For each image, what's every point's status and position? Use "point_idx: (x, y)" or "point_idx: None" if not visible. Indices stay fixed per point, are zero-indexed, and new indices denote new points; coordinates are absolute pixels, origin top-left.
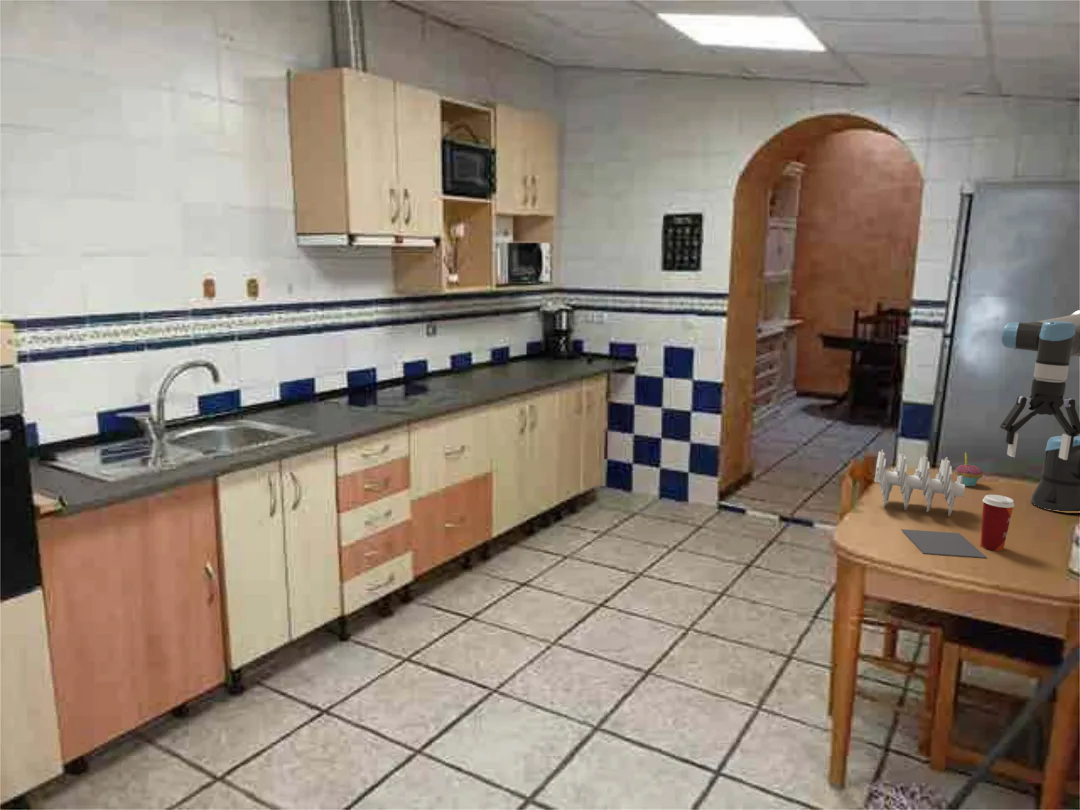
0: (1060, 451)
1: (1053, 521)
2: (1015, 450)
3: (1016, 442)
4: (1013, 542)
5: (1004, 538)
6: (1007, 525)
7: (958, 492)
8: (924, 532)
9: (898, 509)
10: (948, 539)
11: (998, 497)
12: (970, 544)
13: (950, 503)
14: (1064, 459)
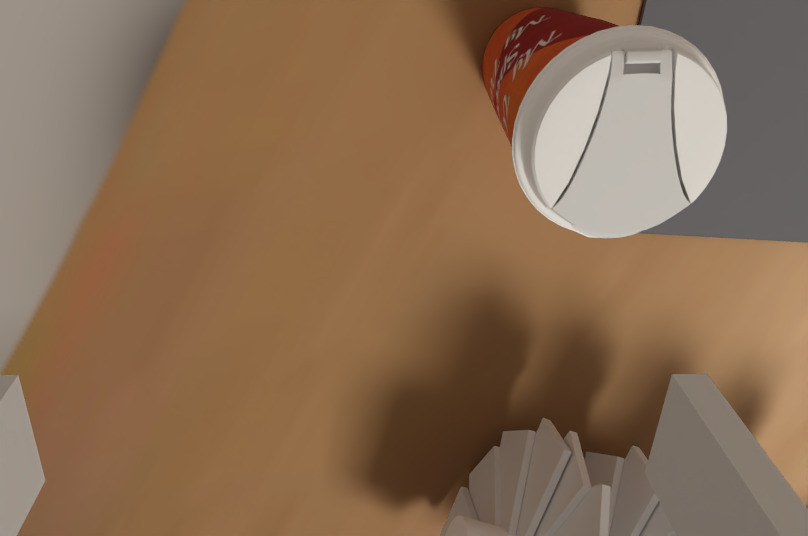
0: (4, 531)
1: None
2: (717, 437)
3: (792, 532)
4: (374, 148)
5: (523, 22)
6: (540, 33)
7: (488, 529)
8: (763, 217)
9: None
10: None
11: (620, 170)
12: None
13: (561, 439)
14: (13, 378)
